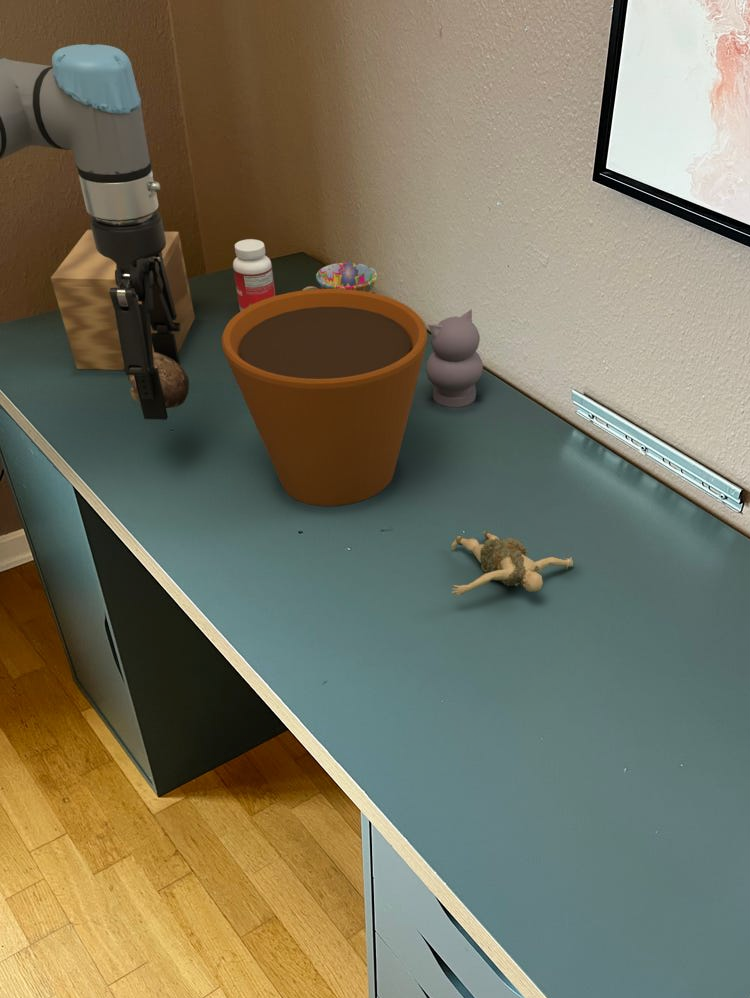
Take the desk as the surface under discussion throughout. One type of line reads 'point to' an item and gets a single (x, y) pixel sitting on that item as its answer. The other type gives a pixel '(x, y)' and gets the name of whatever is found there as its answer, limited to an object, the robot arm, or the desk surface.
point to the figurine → (506, 563)
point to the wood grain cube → (109, 301)
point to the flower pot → (328, 387)
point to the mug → (346, 277)
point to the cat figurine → (454, 361)
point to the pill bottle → (252, 273)
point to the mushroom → (167, 381)
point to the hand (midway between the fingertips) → (164, 399)
